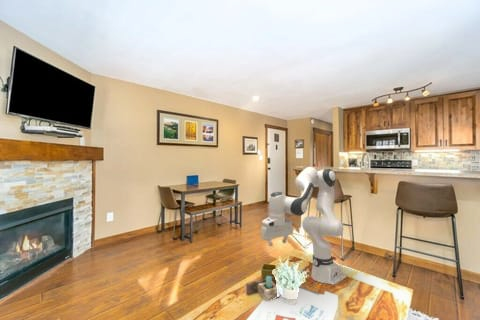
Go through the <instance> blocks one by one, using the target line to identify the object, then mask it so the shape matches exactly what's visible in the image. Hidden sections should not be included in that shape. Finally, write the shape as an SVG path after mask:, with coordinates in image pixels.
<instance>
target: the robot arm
mask: <svg viewBox="0 0 480 320" xmlns="http://www.w3.org/2000/svg"><path fill="white" fill-rule="evenodd" d="M336 180H337V174H336V172H335V171H334V170H333V169H332V168H325V169H320V170H317V169H316V168H315V167H313V166H307V167H306V168H304V169H303V170H302V171H301V172H300V173H298V175H297V176H296V178H295V181H294V183H295V186H296V188H297V189H298V190H299V191H301V192H302V193H301V195H300V196H298V197H293V196H287V195H285V194H283V192H282V191H275V192H272V193H270V195H269V201H268V208H269V214H268V215H269V216H268V217H266V218H265V219H263V220H262V221H261V224H262V225H261V228H260V237H261V238H262V240H265V241H266V240H267V242H268V246H269V247H273V245H274V243H273V242H272V239H277V238H281V237H283V239H281V240H282V241H281V242H282V244H286V243H287V240H288V238H289V237H288V236H291V235H293V234H294V229H293V228H294V227H293V220H292V219H290V218H285V213H286V214H290V215H291V214H292V215H295V216H297V217H301V216H303V215H304V214H305V213H306V212H307V209H308V205H309V203H310V200H311V198H312V196H313V193H314V190H315V188H318V193H317V197H316V204H315V205H316V206H315V207H316V208H315V209H316V210H317V212H319V213H320V214H321V215H323V217H321V216H313V215H312V216H305V217H304V218H303V219H302V222H301V225H302V229H303V230H304V232H306V234H307V235H308V236H309V237H310V240H311V242H312V250H313V251H312V252H313V254H312V267H311V268H312V269H311V274H310V277H311V279H312V280H314V281H315V282H318V283H321V284H322V283H323V284H329V285H333V286H334V285H336V284H338V283H340V282H341V281H343V280H344V279H346V278H347V277H346V275H345V274H344V273H343V271H342V268H341V267H340V266H339V265H338V264H337V263H336V262H334V261H336V260H337V257H336V256H334V255H332V246H331V243H330V242H329V241H328V240H326V239H325V238H324V237H323V236H327V237H334V238H335V237H338V238H339V237H340V236H342V235H343V233H344V226H343V223H342V222H341V221H340V220H339V219H338V218H337V216H336V215H335V210H334V205H335V188H334V186H335V183H336Z"/></svg>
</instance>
